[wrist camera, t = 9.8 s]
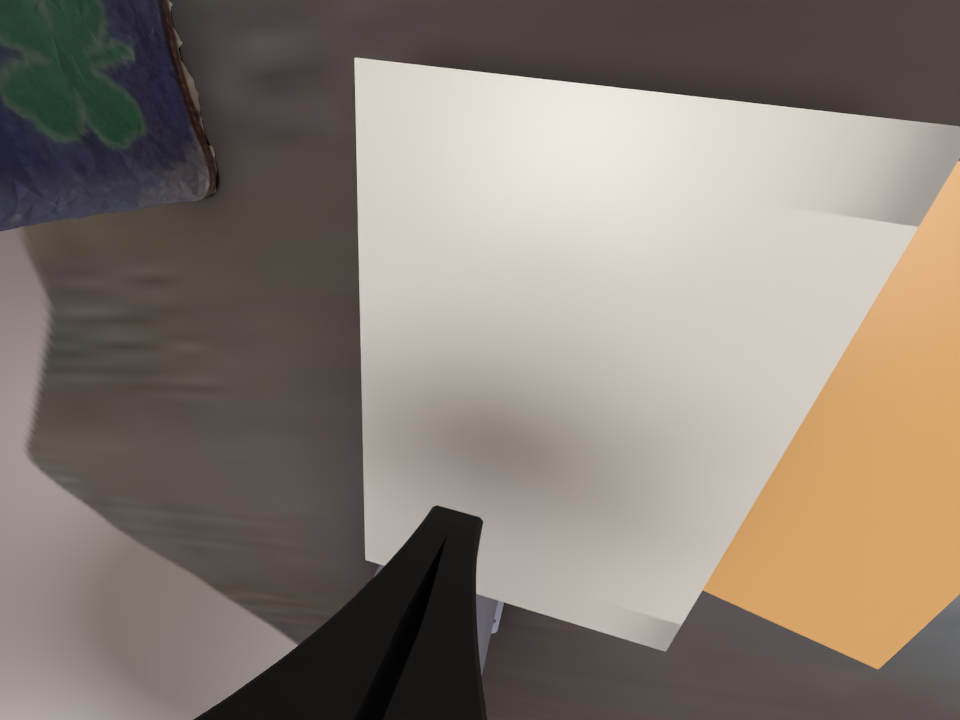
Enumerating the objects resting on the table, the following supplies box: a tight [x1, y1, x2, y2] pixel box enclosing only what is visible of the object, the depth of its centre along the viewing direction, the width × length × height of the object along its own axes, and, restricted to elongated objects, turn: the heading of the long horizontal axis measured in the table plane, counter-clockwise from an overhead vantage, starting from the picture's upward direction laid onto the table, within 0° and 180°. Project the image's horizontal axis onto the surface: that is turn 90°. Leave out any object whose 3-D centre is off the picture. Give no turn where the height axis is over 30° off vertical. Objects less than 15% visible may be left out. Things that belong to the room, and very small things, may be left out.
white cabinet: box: [355, 58, 960, 652], centre depth 17 cm, size 20×14×5 cm
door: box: [703, 161, 960, 669], centre depth 16 cm, size 19×1×8 cm
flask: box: [0, 0, 217, 231], centre depth 13 cm, size 9×3×11 cm, turn 1°
